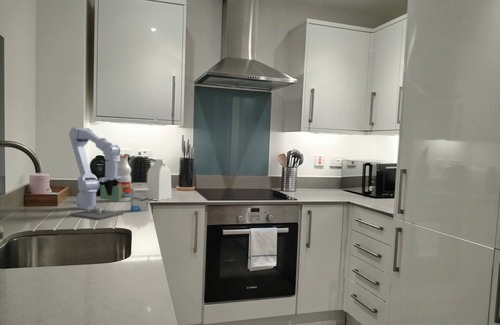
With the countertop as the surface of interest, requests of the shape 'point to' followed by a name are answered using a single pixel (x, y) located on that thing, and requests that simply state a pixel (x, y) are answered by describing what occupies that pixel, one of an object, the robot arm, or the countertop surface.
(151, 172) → the milk
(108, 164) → the robot arm
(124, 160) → the fruit juice
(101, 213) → the plate
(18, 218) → the countertop surface
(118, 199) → the board
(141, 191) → the ink box
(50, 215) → the countertop surface
